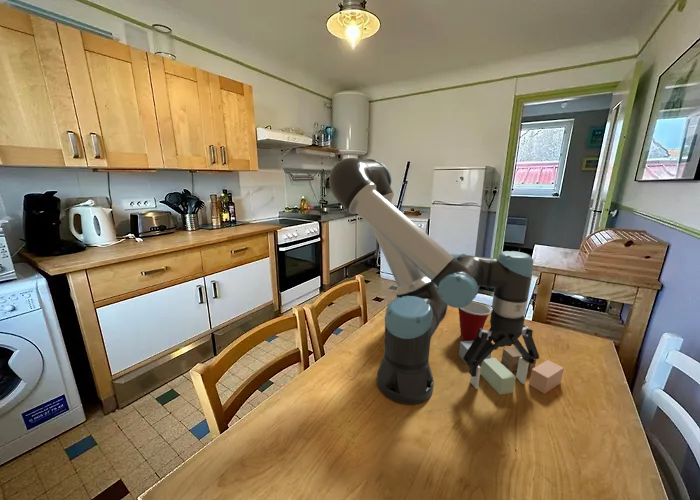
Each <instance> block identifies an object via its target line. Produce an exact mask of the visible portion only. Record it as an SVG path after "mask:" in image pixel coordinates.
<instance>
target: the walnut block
mask: <svg viewBox="0 0 700 500" xmlns="http://www.w3.org/2000/svg"><path fill="white" fill-rule="evenodd" d="M522 346H523V345H522ZM523 347H524V348H525V350H526V351H527V352H528V350H527V347H526V345H525V346H523ZM528 353H529V352H528ZM519 357H523V356H522V355H521V353H520V352H519V351H518V350H517V348H516V347H515V346H513V347H507V348H505V347H504V348H503V351H502V355H501V360H500V363H501V364H502V365H504V366H505V367H506V368H507V369H508V370H509V371H510V372H517V368H518V362H519ZM533 360H535V363H534V364H530V370H532V369H533V368H535V367H536V364H537V359H533Z"/></svg>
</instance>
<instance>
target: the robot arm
mask: <svg viewBox="0 0 700 500" xmlns="http://www.w3.org/2000/svg"><path fill="white" fill-rule="evenodd" d="M328 178H329V180H328V181H329V182H328V184H329V188H330V193H331V194H332V195H333V196H334V198H335V200H336V201H337V202H338V203H339V204H340V205H341V206H343V208H345V210H347V212H348V213H349V214H352V215H355V214H357V215H358V216H360V217H361V219H362V220H364V222H365V223H367V224H368V225H369V226H370V227H371V229H372V231H373V234H374V237H375V238H376V240H377V243H378V245H379V248H380V250H381V252H382V254H383V256H384V258H385V260H386V262H387V266H388V268H389V269H390V271H391V274H392V276H393V277H394V280H395V283H396V285H397V287H398V288H396V290H395V295H396V298H394V299H392V300H391V301H390V302H389V303H388V304H387V306H386V310H385V313H384V314H385V316H384V349H383V350H384V351H383V353H384V354H383V357H382V359H381V362H380V364H379V367H378V369H377V372H376V384H377V388H378V389H379V391H380V392H381V393H382V394H383V395H384V397H386V398H387V399H389V400H391V401H393V402H395V403H398V404H403V405H417V404H421V403H424V402H425V401H427V400H428V399H429V398H431V396H432V395H433V393H434V392H433V391H434V384H435V382H434V380H435V379H434V376H433V372H432V369H431V365H430V362H429V358H430V350H431V349H430V347H431V341H432V337H433V336H434V334H435V332H436V331H437V329H438V327H439V325H440V324H441V323H442V321H443V320H444V319H445V316H446V315H447V310H448V306H449V307H450V308H455V309H458V308H462V307H465V306H467V305H469V304H470V303H471V302H474V299H475V298H476V297H477V295H478V294H479V289H480V287H485V288H490V289H494V290H493V295H492V296H493V297H492V303H491V308H492V309H491V313H490V318H489V322H490V328H489V329H488V330H484V328H483V329H481V328H480V329H479V330H478V333H477V336H476V338H475V340H474V341H473V343H472V344H471V346H470V348H469V349H468V351H467V352H466V354H465V356H464V357H463V360H464V361H465V362H466V363H465V362H464V361H463V360H462V361H463V362H464V363H465V364H467V365H468V366H469V367H468V368H469V369H468V373H469V375H470V380H469V382H470V383H471V385H472V386H473V388H474V389H475V390H476V389H477V390H478V389H479V384H480V377H481V374H480V373H481V365H482V362H483V361H484V359H485V358H486V357H487V356H488V355H489V354H490V353H491V354H492V353H493V351H495V350H498V348H499V347H500V348H503V347H504V348H505V347H512V345H513V347H516V348H517V350H518V351H519V352H520V353H521V355H522V356H523V357H519V362H518V368H517V371H516V375H515V376H516V379H517V380H518V381H519V382H520V383H521V384H522V385H525V384H526V382H527V376H528V372H529V371H530V370H531V369H530V364H534V363H535V360H533V359H536V360H539V359H540V355H539V352H538V348H537V346H536V344H535V341H534V338H533V332H534V331H533V330H532V329H531V328H530V327H528V326H527V325H526V324H525V319H526V317H525V316H526V312H527V306H528V300H529V296H530V295H529V294H530V290H531V289H530V288H531V284H532V283H531V282H532V279H533V271H534V269H533V268H534V258H533V257H532V256H531V255H530V254H528V253H525V252H523V251H522V252H520V251H515V250H511V251H509V250H505V251H501V252H499V253H498V257H497V258H495V257H494V258H490V257H484V256H476V255H469V254H465V253H461V254H460V253H452V254H451V253H449V251H447V250H446V249H445V248H444V247H442V246H441V245H440V244H439V243H438V242H437V241H436V240H434V239H433V238H432V237H431V236H430V235H429V234H427V233H426V232H425V231H424V230H423V229H422V228H421V227H419V226H418V225H417V224H416V223H415V222H413V221H412V220H411V219H410V218H408V216H407V215H406V214H404V213H403V212H402V211H400V209H398V208H397V207H396V206H395V205H394V204H393V202H392V201H393V198H394V192H393V189H392V187H391V185H392V175H391V172H390V170H389V168H388V167H387V166H386V165H385V164H384V163H382V162H380V161H378V160H375V159H373V158H371V159H370V158H366V159H363V158H362V159H361V158H355V157H346V158H344V159H341V160H340V161H338V162H337V163H335V165H334V166H332V169H331V171H330V173H329V177H328ZM435 285H436V286H435ZM397 297H398V298H397ZM520 337H522V339H523V341H524V345H525V346H526V347H527V350H528V352H529V353H528V352H527V351H526V350H525V348H524V347H523V344H522V343H521V341H520V340H519V338H520ZM492 342H493V343H492ZM475 360H476V361H475Z"/></svg>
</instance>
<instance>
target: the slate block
mask: <svg viewBox="0 0 700 500" xmlns="http://www.w3.org/2000/svg"><path fill="white" fill-rule="evenodd" d="M472 343H473V341H466V340H464V341H460V342H459V352H458V356H459V357H460V359H462V361H463V363H464V364H467V363H466V362H465V361H464V360H463V357H464V356H465V354H466V352H467V351H468V349H469V348H470V346H471V344H472ZM489 358H492V352H491V353H490V354H489V355H488V356H487V357H486V358H485V359H489ZM475 361H476V360H475Z"/></svg>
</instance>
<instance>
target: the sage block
mask: <svg viewBox="0 0 700 500" xmlns="http://www.w3.org/2000/svg"><path fill="white" fill-rule="evenodd" d="M480 367H481V371H480V376H481V377H482V378H483V379H484V380H485V381H486V382H487V383H488V384H489V385H490V386H491V387H492V388H493V389H494V391H496V392H497V393H498V394H499V395H507V394H513V393H514V391H515V385H516V384H515V383H516V379H517V378H516V375H515V374H514V373H513V372H512V371H509V370H508V369H507V368H506V367H505V366H504V365H503V364H502V363H501V361H499V360H498V358H496V357H490V358H489V359H484V361H483V362H482V363H481V365H480Z"/></svg>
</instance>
